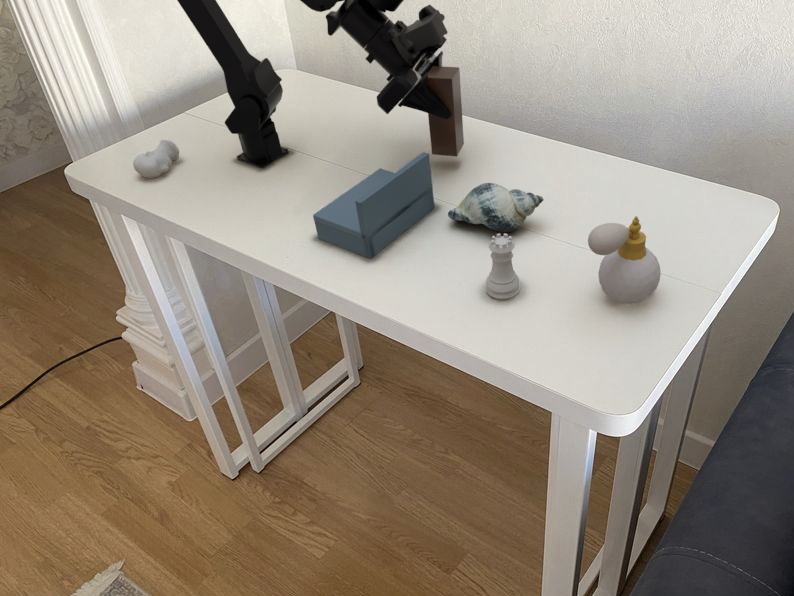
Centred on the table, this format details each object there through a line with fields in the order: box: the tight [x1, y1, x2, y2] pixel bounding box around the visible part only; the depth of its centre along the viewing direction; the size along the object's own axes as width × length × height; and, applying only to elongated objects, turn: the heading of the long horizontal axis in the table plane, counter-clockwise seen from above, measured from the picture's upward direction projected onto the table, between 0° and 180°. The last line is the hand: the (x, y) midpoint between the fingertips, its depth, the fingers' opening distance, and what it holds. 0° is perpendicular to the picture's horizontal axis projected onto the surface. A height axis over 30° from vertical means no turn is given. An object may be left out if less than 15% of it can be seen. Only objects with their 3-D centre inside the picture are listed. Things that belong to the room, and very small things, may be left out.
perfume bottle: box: [587, 216, 662, 305], centre depth 87 cm, size 8×10×12 cm
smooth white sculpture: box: [132, 139, 180, 179], centre depth 121 cm, size 4×8×5 cm
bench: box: [312, 151, 435, 260], centre depth 104 cm, size 10×15×9 cm, turn 145°
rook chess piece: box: [485, 232, 521, 300], centre depth 91 cm, size 4×4×8 cm
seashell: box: [447, 182, 544, 233], centre depth 103 cm, size 6×8×12 cm
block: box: [427, 66, 465, 157], centre depth 112 cm, size 4×4×12 cm
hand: (453, 110), depth 111 cm, fingers closed on block, 4 cm apart
